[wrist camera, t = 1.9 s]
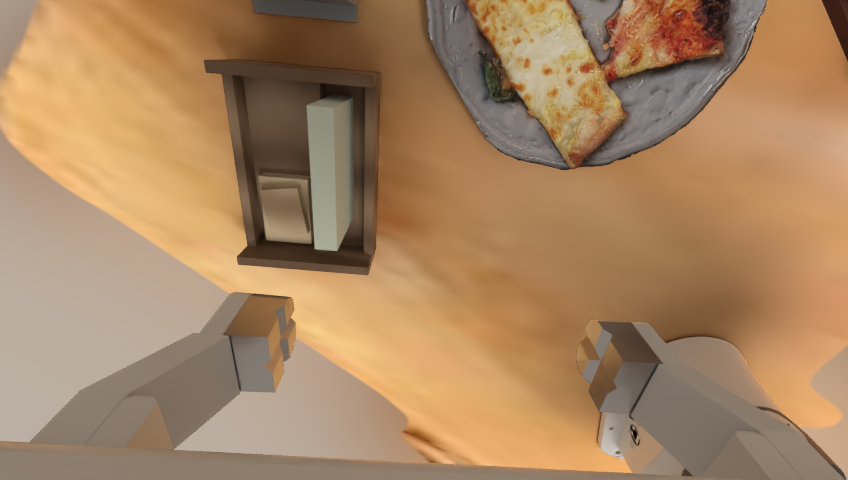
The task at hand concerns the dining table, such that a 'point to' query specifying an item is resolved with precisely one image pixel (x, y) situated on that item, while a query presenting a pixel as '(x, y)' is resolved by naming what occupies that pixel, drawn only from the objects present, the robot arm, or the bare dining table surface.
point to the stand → (310, 8)
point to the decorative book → (839, 20)
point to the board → (331, 169)
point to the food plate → (588, 70)
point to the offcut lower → (305, 183)
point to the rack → (299, 153)
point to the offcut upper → (285, 209)
